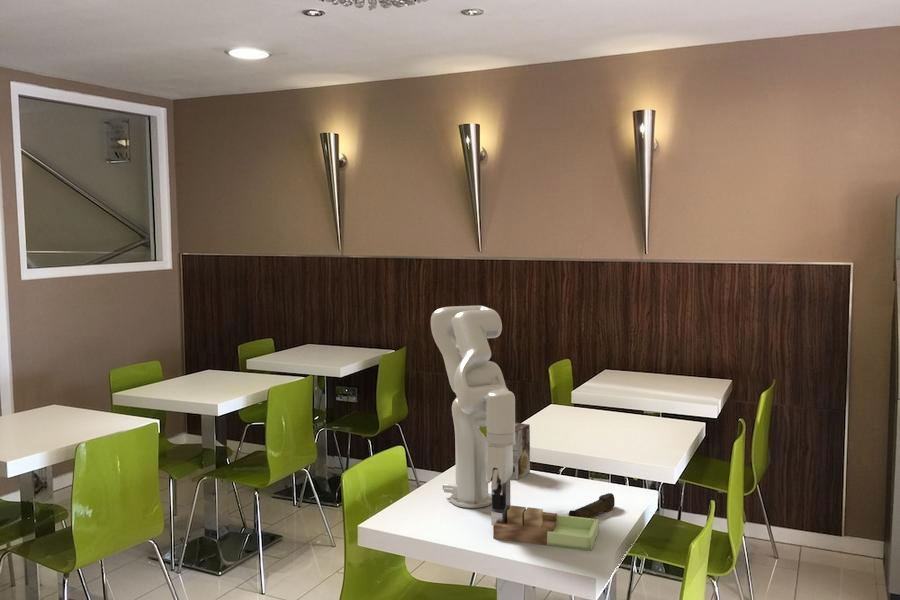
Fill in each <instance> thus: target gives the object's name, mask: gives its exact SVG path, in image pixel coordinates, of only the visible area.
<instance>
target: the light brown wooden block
mask: <svg viewBox="0 0 900 600" xmlns="http://www.w3.org/2000/svg"><path fill="white" fill-rule="evenodd" d="M543 512H544V511H543V508H537V507H528V506H527V507H526V510H525V512H524V526H531V527H541V526H542V524H543Z"/></svg>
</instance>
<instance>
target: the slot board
mask: <svg viewBox="0 0 900 600" xmlns="http://www.w3.org/2000/svg"><path fill="white" fill-rule="evenodd" d="M557 515H558V513H556V512H545V511H543V524H542V526H541V527H531V526H524V525H515V524H506V523H498V522H495V523H494V525H492V527H493V528H492V530H493V533H492V534H493V535H492V536H493V539H495V540H496V539H497V540H505V541H511V542H513V541H514V542H519V541H520V542H521V543H527V544H529V543H530V544H537V545H543V546H544V545H545V546H548V545H547V532H548V531H550V532H553V531H554V529H555V527H556V526H557Z"/></svg>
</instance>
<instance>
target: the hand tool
mask: <svg viewBox="0 0 900 600" xmlns="http://www.w3.org/2000/svg"><path fill="white" fill-rule="evenodd" d="M615 506H616V505H615V496H614V494H613V493H610V492H609V493H606V494H601V495H599V497H598V499H597V500H596V501H593V502H591V503H588V504H586V505H584V506H582V507H579V508H577V509H574V510H573V509H572V510H571V509H570V510H569V511H568V516H573V517H582V518H591V519H592V518H593V517H596V516H597V515H599V514H601V513H604V512H607V513H608V511H609V512H610V511H612V510H613V509H614V508H615Z"/></svg>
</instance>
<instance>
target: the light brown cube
mask: <svg viewBox="0 0 900 600" xmlns="http://www.w3.org/2000/svg"><path fill="white" fill-rule="evenodd" d="M526 509H527V507H526V506H519V505H512V504H511V506H510V508H509V509H508V510H507V524H515V525H524V512H525V510H526Z"/></svg>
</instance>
